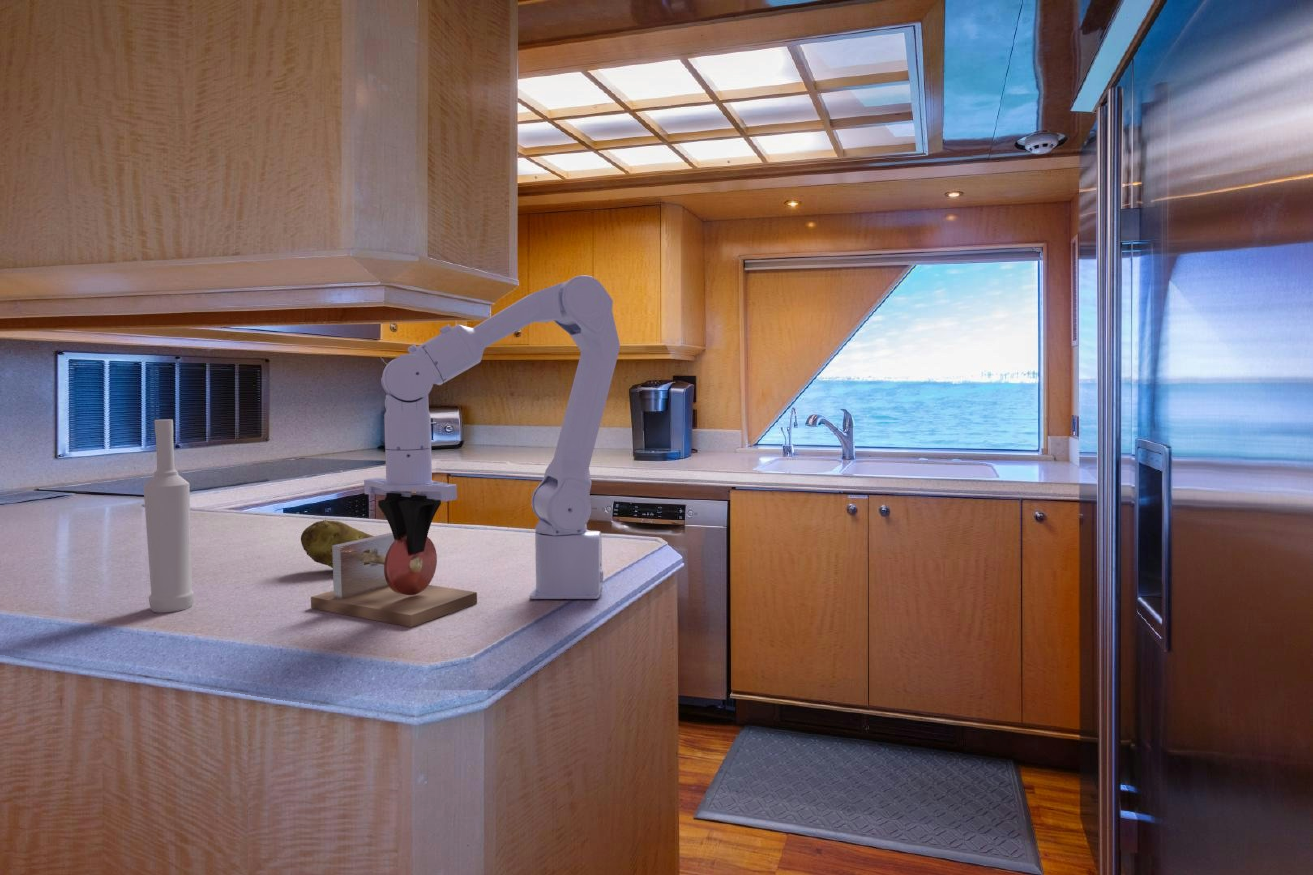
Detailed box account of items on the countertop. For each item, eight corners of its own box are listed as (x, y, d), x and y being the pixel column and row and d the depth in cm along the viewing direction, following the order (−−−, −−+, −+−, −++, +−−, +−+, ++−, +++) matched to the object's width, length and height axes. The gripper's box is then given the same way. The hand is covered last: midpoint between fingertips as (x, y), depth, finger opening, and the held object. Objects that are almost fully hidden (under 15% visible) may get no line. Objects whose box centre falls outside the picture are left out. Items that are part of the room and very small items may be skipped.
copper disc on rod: (334, 591, 107) (332, 532, 107) (380, 578, 114) (379, 522, 114) (394, 602, 102) (392, 539, 101) (439, 587, 109) (437, 529, 108)
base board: (311, 607, 107) (310, 596, 106) (381, 587, 117) (380, 577, 117) (411, 627, 98) (411, 615, 98) (477, 603, 109) (476, 592, 109)
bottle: (185, 599, 111) (177, 418, 109) (201, 606, 107) (193, 419, 106) (143, 608, 107) (134, 420, 105) (158, 615, 103) (148, 421, 102)
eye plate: (333, 598, 106) (332, 545, 105) (391, 581, 115) (390, 532, 114) (341, 599, 105) (340, 546, 105) (399, 582, 114) (398, 533, 113)
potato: (372, 577, 123) (370, 526, 122) (293, 575, 125) (291, 524, 124) (396, 565, 131) (395, 516, 131) (322, 563, 133) (321, 515, 132)
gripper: (344, 448, 105) (347, 552, 105) (427, 453, 98) (430, 563, 99) (386, 444, 111) (388, 542, 112) (467, 448, 104) (469, 552, 105)
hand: (411, 551), depth 106 cm, fingers closed on copper disc on rod
